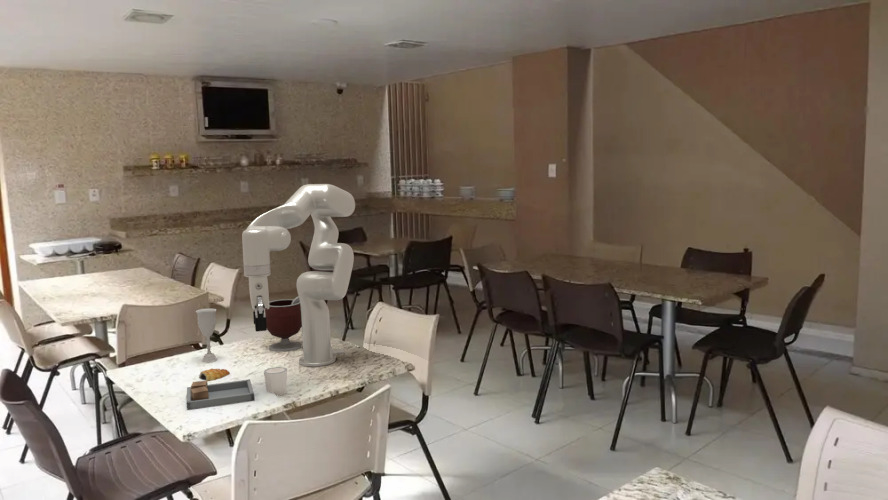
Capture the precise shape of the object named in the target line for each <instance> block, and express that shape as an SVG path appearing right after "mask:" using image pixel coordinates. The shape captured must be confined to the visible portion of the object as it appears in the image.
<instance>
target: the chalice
mask: <svg viewBox="0 0 888 500" xmlns="http://www.w3.org/2000/svg"><path fill="white" fill-rule="evenodd" d="M195 313H196V314H197V326H198V328H199V330H200V332H201V333H202V335H203V336H204V337H206V341H205V343H206V349H207V351H206V353H204V355H203V358H202V360H201V361H202V362H201V363H213V362H216V361H218V358H217V357H216V355H215V353H213V352H212V351H211V348H212V346H211V342H212V341H211V339H210V337H212V336H213V334H214V331H215V328H216V324H217V317H216V313H217V308H200V309H197V310H195Z"/></svg>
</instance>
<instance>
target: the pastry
mask: <svg viewBox="0 0 888 500" xmlns="http://www.w3.org/2000/svg"><path fill="white" fill-rule="evenodd" d="M230 374H231V373H230V371H229V370H228V369H225V368H221V369H220V368H210V369H206V370H203V371H200V373H199V375H198V379H200V380H205V381H207V382H212V381H217V380H221V379H222V378H225V377H227V376H229V375H230Z"/></svg>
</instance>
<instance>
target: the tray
mask: <svg viewBox="0 0 888 500" xmlns="http://www.w3.org/2000/svg"><path fill="white" fill-rule="evenodd" d="M208 394H209V399H203V400H196V401H192V400H191V386H189V387H188V386H187V387H186V411H190V410H196V409H203V408H212V407H219V406H226V405H233V404H240V403H247V402H253V401H255V392H254V387H253V385H252V381H251V379H243V380H235V381H234V380H233V381H226V382H219V383H218V382H217V383H211V384H208Z"/></svg>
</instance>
